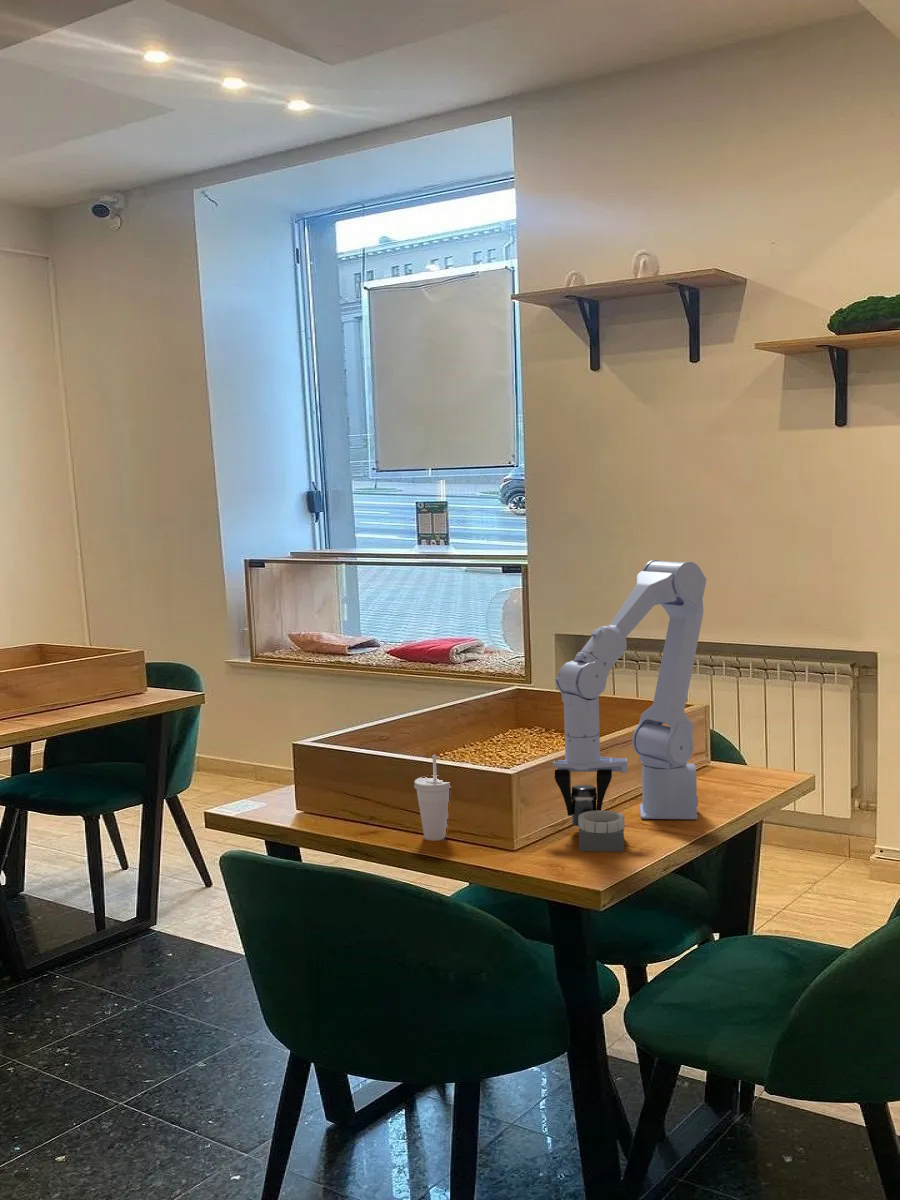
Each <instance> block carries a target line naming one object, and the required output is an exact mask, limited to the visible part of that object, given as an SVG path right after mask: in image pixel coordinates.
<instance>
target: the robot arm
mask: <svg viewBox="0 0 900 1200" xmlns="http://www.w3.org/2000/svg"><path fill="white" fill-rule="evenodd" d="M635 579H636V580H635V581H636V583H635V586H634V588H633V589H632V591H631V592H630V594H629V595H628V596H627V598H626V600H625V601H624V603H623V604H622V606H621V607H620V608H619V610H618V612H616V613H617V614H615V616H614V618H613V619H612V621H610V624H608V625H602V626H599V627H598V628H595V629H593V630H592V632H591V634H590V635H591V637H590V639H589V640H588V641H587V642H586V644H585V645H584V646H583V647H582V648H581V650H580V651H578V652H576V653H577V654H576V655H575V657H574V659H573V660H569V661H566V663H564V664H563V665H562V666H561V668H560V669H559V671H558V673H557V677H556V678H555V679H554V680H555V684H556V688H557V690H558V691H559V692H560V694H561V702H562V703H563V715H564V716H563V717H564V719H563V721H564V722H563V723H564V751H565V753H564V754H565V755H564V757H566V759H565V760H558V762H555V761H554V762H552V763H553V764H552V765H553V767H558V769H557V770H555V772H554V780H555V783H556V784H557V787H558V788H559V790H560V792H561V795H562V797H563V800H564V804H565V807H566V813H567V816H568V817H570V816H571V817H572V799H571V793H572V785H571V783H572V782H571V780H572V779H571V773H572V772H573V773H574V772H580V773H581V772H584V773H586V772H591V773H593V772H596V793H597V800H596V810H602V807H603V801H604V798H605V795H606V792H607V790H608V788H609V786H610V783H611V781H612V777H613V774H612V773H613V772H620V773H625V774H626V773H628V758H626V757H625V758H623V757H622V758H621V757H611V756H610V757H609V756H608V757H607V756H601V742H600V741H601V738H600V705H599V703H600V701H599V699H600V698H599V697H600V695H601V694H602V693H603V692H605V689H606V686H607V679H608V676H609V675H610V670H611V669H612V668H613V667H614V665H615V664H616V663H617V661H618V660H619V659H620V657H621V656H622V655H623V654H624V652H625V651H626V649H627V648H628V642H627V637H628V636H629V635H630V633H631V632H632V631H633V630H635V628H636V627H637V626H638V624H639V623H641V621H642V620H643V619H644V618H645V616H647V615H648V613H649V612H650V611H651V610H652V609H653V608H654V606H658V605H660V606H661V607H662V608H663V609H664V610H665V612H666V613H667V615H668V617H669V621H668V625H667V631H666V636H665V641H664V646H663V651H662V656H661V660H660V665H659V666H660V667H659V671H658V676H657V681H656V686H655V692H654V697H653V703H652V705H651V706H650V707H648V708H647V709H646V710H644V711H643V712H642V713H641V715H640V719H639V723H638V725H637V726H636V728H635V729H634V731H633V734H632V740H631V741H632V742H631V744H632V747H633V750H634V752H635V753H636V754H637V755H638V756H639V762H641V781H642V782H641V783H642V784H641V786H642V787H641V791H642V799H641V800H642V801H641V802H642V803H640V804H639V811H640V813H639V814H640V819H642V820H645V819H647V820H697V819H698V806H699V798H698V797H699V796H698V795H697V793H698V792H697V791H698V790H697V789H698V787H697V780H698V779H697V767H696V764H695V763H688V762H689V760H690V758H691V757H692V755H693V752H694V746H695V745H694V743H695V742H694V738H693V731H694V724H693V722H692V721H691V719H690V718H689V716H688V715H687V713H686V712H685V710H686V704H687V699H688V694H689V689H690V685H691V684H690V683H691V678H692V673H693V667H694V663H695V659H696V658H695V657H696V652H697V649H698V644H699V637H700V633H701V627H702V622H703V618H704V617H703V616H704V600H703V598H704V594H705V588H706V584H707V578H706V576H705V575H704V572H703V571H702V570H701V568H700V567H699V565H698V564H696V563H695V562H693V561H685V562H684V561H683V562H682V561H670V560H669V561H667V560H661V559H660V560H659V559H651V560H649V561H647V562H646V563H645V565H644V566H643V567H642V570H641V571H640V572H639V573H637V575H636V577H635ZM663 724H666V725H667V726H666V725H663Z"/></svg>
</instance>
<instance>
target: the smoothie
mask: <svg viewBox="0 0 900 1200" xmlns="http://www.w3.org/2000/svg"><path fill="white" fill-rule="evenodd" d="M432 771H433V772H432V773H433V774H432V776H433V778H427V777H425V776H424V777H425V778H422V777H423V776H421V777H418V778H416V779H415V780H414V786H413V787H414V789H416V795H417V800H418V807H419V812H420V813H419V815H420V820H421V827H422V832H423V839H424V840H427V841H433V842H434V841H442V839H443V840H445V839H446V838H445V835H446V828H447V829H448V824H447V819H448V820H449V813H448V802H449V788H452V787H451V786H450V782H443V780H439V779H437V776H438V775H437V754H432ZM449 803H450V802H449ZM446 836H447V835H446ZM444 838H445V839H444Z"/></svg>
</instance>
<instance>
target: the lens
mask: <svg viewBox="0 0 900 1200" xmlns="http://www.w3.org/2000/svg"><path fill="white" fill-rule="evenodd" d="M571 799H572V816H571V824H572V825H573V826H575V827H578V816H579V815H580V814H582V813H584V812H588V811H596V808H597V786H594V785H591V784H577V785H573V786H571Z"/></svg>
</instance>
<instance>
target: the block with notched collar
mask: <svg viewBox="0 0 900 1200" xmlns="http://www.w3.org/2000/svg"><path fill="white" fill-rule="evenodd" d="M625 826H626V825H625V815H624V814H622V812H621V813H620V812H617V811H613V810H604V809H601V810H596V811H588V812H584V813H582V814H580V815H579V816H578V826H577V827H578V848H579V849H578V850H579V852H616V853H617V852H625V834H624V833H625V832H624V831H625V830H624V829H625Z"/></svg>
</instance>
